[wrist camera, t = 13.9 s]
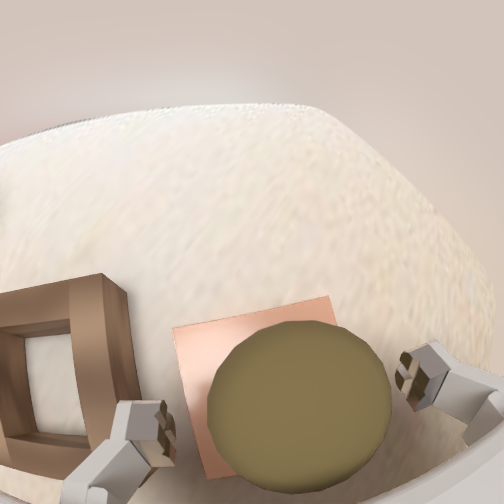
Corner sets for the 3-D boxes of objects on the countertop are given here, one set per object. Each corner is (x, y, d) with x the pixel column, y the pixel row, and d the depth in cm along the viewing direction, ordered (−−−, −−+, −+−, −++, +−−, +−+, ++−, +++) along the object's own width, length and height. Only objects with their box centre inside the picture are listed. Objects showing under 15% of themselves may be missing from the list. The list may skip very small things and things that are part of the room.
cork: (290, 326, 17) (355, 250, 7) (336, 409, 15) (453, 431, 5) (200, 371, 16) (137, 357, 6) (247, 456, 14) (257, 555, 4)
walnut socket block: (159, 466, 14) (139, 487, 10) (25, 455, 12) (-6, 462, 9) (126, 292, 18) (101, 272, 15) (6, 312, 17) (-26, 298, 13)
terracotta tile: (360, 438, 15) (364, 439, 14) (208, 476, 14) (207, 479, 13) (326, 297, 19) (328, 295, 18) (174, 329, 18) (172, 327, 17)
